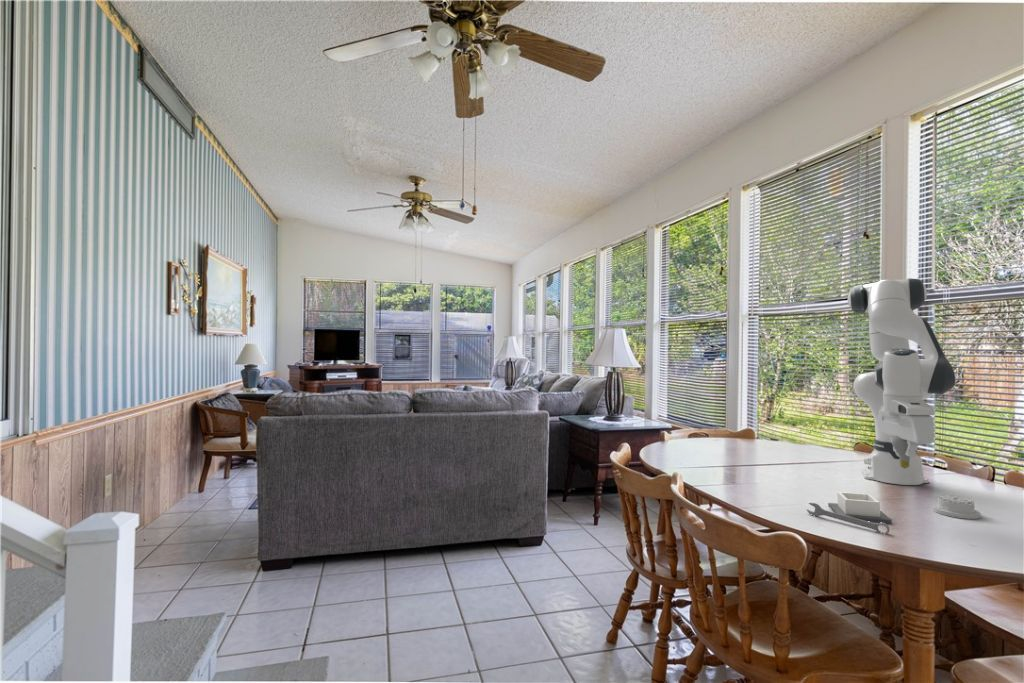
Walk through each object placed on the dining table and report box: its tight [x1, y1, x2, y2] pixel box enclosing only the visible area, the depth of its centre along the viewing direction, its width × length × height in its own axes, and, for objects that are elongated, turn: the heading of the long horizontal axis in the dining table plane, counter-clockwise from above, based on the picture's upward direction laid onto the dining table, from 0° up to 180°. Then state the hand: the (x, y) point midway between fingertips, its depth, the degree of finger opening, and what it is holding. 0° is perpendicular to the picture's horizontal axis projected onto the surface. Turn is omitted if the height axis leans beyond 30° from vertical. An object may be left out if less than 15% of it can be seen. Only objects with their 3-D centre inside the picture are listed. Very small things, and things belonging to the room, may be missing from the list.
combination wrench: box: [806, 502, 890, 535], centre depth 133 cm, size 4×1×20 cm
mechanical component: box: [933, 495, 982, 520], centre depth 139 cm, size 10×4×10 cm
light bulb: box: [892, 435, 910, 468], centre depth 139 cm, size 6×6×10 cm
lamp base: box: [827, 491, 893, 524], centre depth 140 cm, size 12×12×5 cm
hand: (904, 454), depth 139 cm, fingers closed on light bulb, 4 cm apart
